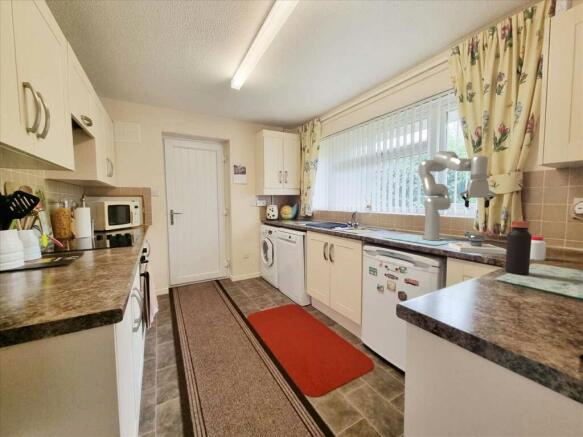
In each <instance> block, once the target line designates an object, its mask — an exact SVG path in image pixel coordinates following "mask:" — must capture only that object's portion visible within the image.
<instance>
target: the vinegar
mask: <svg viewBox="0 0 583 437" xmlns="http://www.w3.org/2000/svg"><path fill="white" fill-rule="evenodd" d="M510 228H511V231H509V232H508V233H507V237H506V248H505V249H506V254H505V265H504V271H505V272H506V273H508V274H512V275H519V276H528V275H529V274H530V262H531V259H530V253H531V240H532V236H533V235H532V234H531V233H530V232H529V231H528V230H529V228H530V221H524V220H523V221H522V220H511V227H510Z"/></svg>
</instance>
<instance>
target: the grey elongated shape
mask: <svg viewBox="0 0 583 437" xmlns="http://www.w3.org/2000/svg"><path fill="white" fill-rule="evenodd" d="M464 237H467V239H468V241H470V243H471V245H472V246H482V244H483V242H485V241H486V235H483V234H475V233H472V232H467V231H464Z"/></svg>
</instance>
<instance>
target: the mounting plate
mask: <svg viewBox="0 0 583 437" xmlns="http://www.w3.org/2000/svg"><path fill="white" fill-rule="evenodd" d="M448 248H451V249H453V250H455V251H458V252H460V253H473V254H474V253H475V254H491V255H492V254H493V255H506V249H507V248H503V247H500V246H496V245H492V244H488V243H487V244H486V243H484V244H483V243H482V246H472V245H471V242H467V243H464V242H463V243H462V242H448Z"/></svg>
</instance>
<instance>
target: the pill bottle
mask: <svg viewBox="0 0 583 437" xmlns="http://www.w3.org/2000/svg"><path fill="white" fill-rule="evenodd" d="M546 251H547V242H546V241H545V240H544V236H541V235H540V236H539V235H538V236H537V235H532V240H531V253H530V260H532V259H534V261H545V260H546V253H547V252H546Z"/></svg>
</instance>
